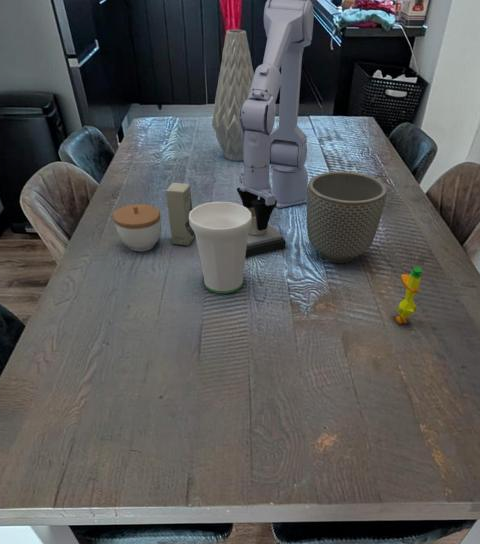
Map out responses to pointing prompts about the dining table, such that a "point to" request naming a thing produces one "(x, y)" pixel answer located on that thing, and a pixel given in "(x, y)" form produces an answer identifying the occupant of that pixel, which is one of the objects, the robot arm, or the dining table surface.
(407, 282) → the toy figure
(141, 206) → the trinket box
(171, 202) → the box
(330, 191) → the planter
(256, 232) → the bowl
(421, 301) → the dining table surface
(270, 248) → the scale
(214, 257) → the cup
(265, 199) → the robot arm
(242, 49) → the vase
